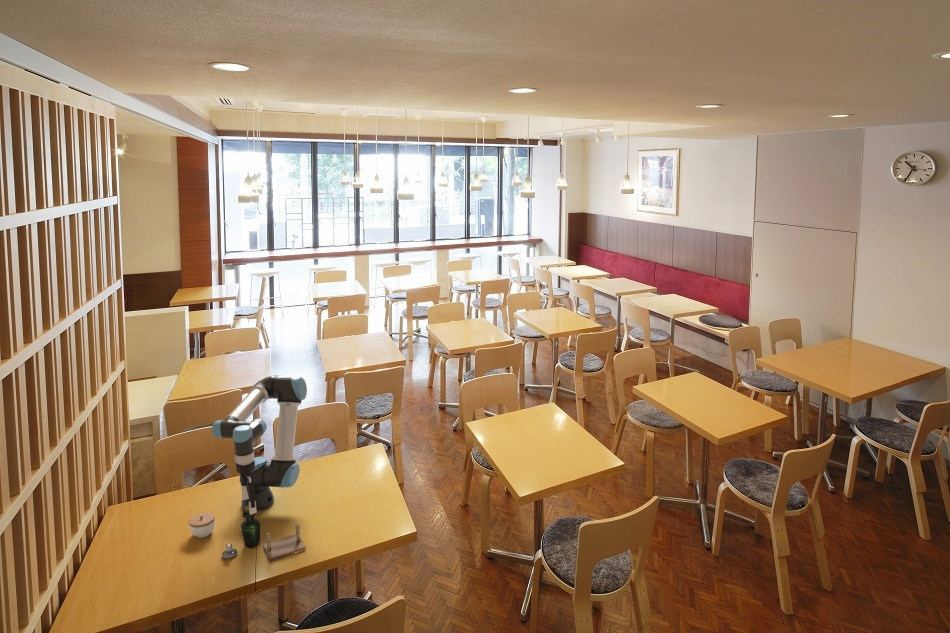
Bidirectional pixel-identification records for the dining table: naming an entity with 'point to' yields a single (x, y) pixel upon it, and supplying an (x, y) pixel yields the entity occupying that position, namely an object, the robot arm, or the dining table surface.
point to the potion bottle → (250, 529)
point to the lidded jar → (202, 524)
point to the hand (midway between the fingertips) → (249, 506)
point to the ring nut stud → (229, 552)
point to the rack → (283, 545)
